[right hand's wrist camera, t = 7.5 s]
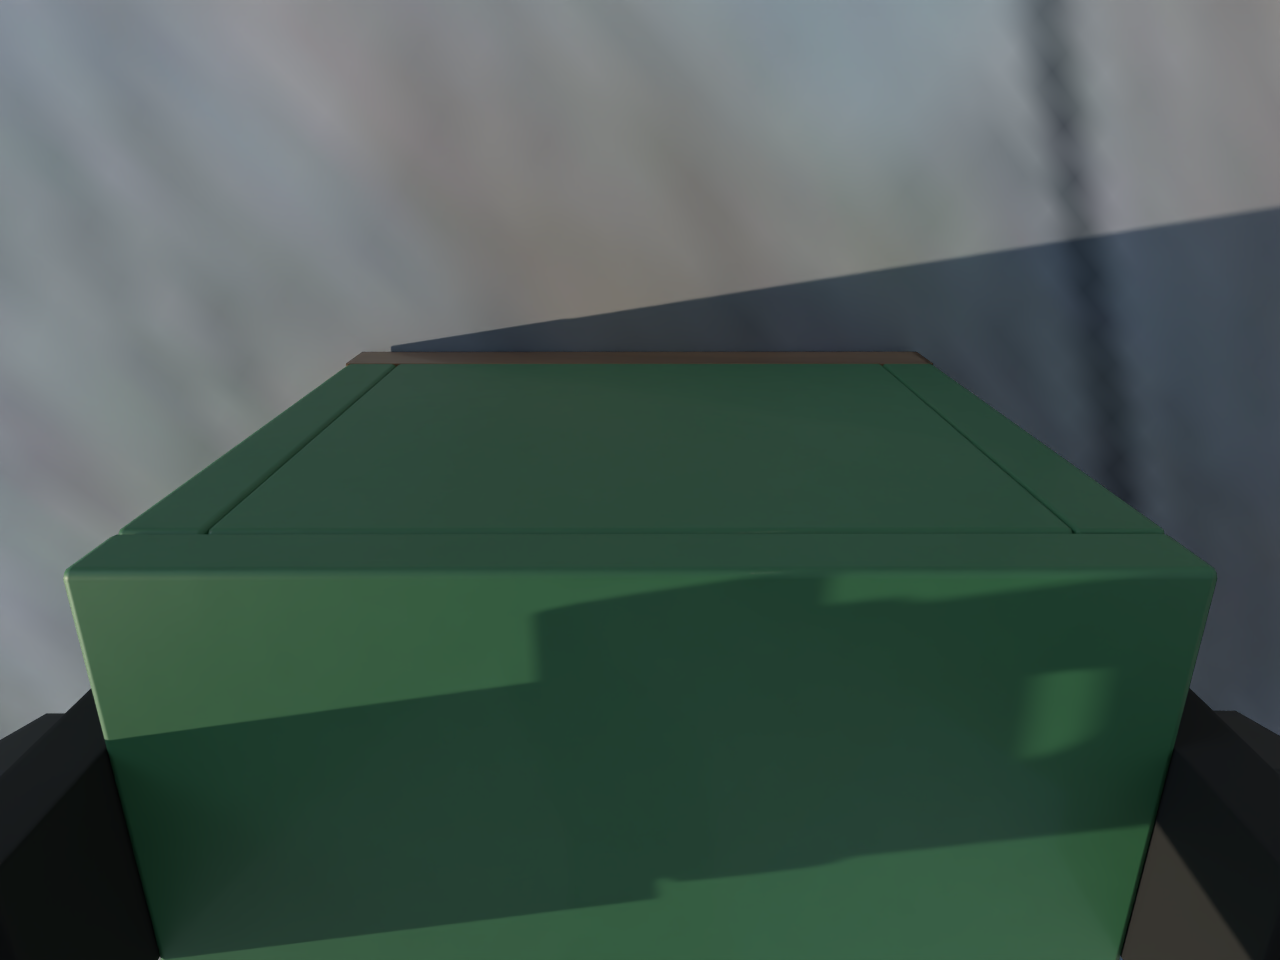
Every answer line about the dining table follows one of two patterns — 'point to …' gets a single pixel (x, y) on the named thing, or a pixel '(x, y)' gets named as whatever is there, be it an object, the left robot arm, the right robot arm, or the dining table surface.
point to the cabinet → (640, 670)
